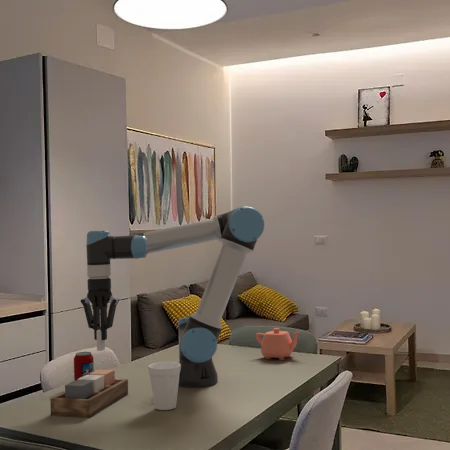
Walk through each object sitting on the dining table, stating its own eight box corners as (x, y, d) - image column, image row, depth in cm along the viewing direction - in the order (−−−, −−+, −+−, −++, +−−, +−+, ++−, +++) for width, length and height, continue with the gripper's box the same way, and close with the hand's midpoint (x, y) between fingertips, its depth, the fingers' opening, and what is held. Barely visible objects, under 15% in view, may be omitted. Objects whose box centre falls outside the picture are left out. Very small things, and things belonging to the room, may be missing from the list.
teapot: (297, 362, 245) (296, 332, 245) (250, 359, 253) (249, 330, 253) (307, 356, 257) (306, 326, 257) (262, 353, 265) (261, 325, 265)
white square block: (104, 387, 195) (103, 375, 196) (95, 392, 190) (94, 379, 190) (87, 387, 197) (86, 374, 197) (77, 392, 191) (77, 379, 191)
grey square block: (92, 394, 188) (92, 381, 188) (83, 399, 183) (82, 386, 183) (75, 393, 190) (75, 380, 190) (65, 398, 184) (64, 385, 184)
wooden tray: (128, 394, 204) (127, 379, 204) (90, 417, 179) (89, 400, 179) (92, 392, 208) (92, 377, 208) (50, 415, 183) (50, 398, 183)
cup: (169, 414, 180) (167, 370, 180) (142, 410, 185) (141, 367, 185) (188, 406, 188) (187, 363, 188) (162, 402, 193) (161, 360, 194)
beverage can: (89, 390, 211) (88, 355, 211) (71, 389, 213) (70, 355, 213) (97, 385, 218) (96, 351, 218) (79, 384, 219) (78, 351, 219)
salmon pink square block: (114, 382, 203) (114, 370, 203) (106, 386, 197) (106, 374, 197) (98, 381, 204) (98, 369, 204) (89, 386, 199) (89, 373, 199)
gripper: (122, 276, 203) (124, 348, 203) (86, 276, 206) (88, 347, 206) (112, 278, 196) (114, 352, 195) (75, 278, 199) (77, 351, 199)
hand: (101, 349), depth 201 cm, fingers closed
